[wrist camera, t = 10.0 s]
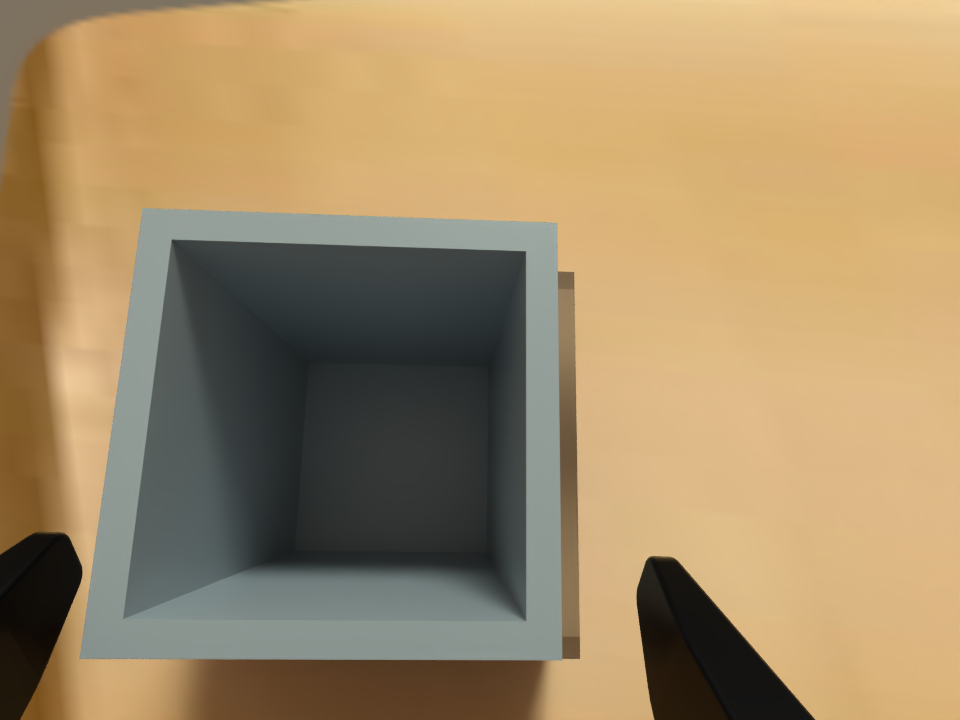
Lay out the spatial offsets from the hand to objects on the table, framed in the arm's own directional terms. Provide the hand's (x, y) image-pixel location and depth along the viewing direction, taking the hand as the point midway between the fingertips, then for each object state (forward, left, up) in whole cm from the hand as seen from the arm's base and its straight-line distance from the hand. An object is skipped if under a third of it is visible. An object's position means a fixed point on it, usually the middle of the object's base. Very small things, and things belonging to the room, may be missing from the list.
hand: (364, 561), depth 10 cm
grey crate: (+2, +1, -9) cm, 9 cm away
